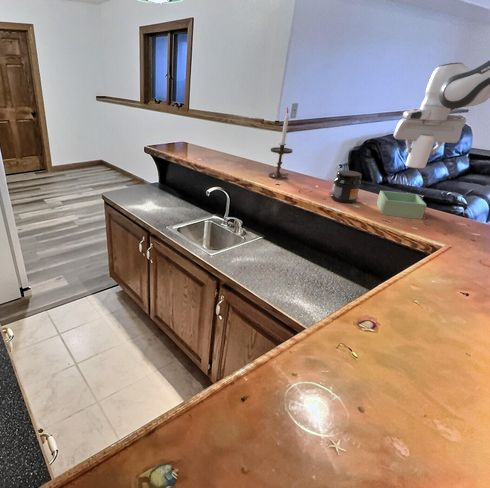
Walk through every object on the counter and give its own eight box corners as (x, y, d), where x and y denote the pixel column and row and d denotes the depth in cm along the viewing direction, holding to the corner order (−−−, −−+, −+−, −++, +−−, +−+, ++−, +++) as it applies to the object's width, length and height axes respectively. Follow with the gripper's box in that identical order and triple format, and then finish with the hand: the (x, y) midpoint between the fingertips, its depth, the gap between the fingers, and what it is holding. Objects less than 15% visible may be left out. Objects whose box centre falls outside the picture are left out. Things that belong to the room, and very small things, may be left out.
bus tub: (412, 207, 146) (417, 194, 144) (421, 219, 135) (426, 204, 132) (376, 203, 150) (380, 190, 148) (381, 214, 139) (386, 200, 136)
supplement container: (361, 201, 152) (368, 174, 147) (344, 205, 148) (351, 177, 143) (341, 194, 161) (347, 169, 155) (324, 197, 157) (330, 171, 151)
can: (408, 168, 131) (419, 135, 125) (402, 164, 136) (412, 132, 131) (427, 169, 129) (440, 136, 124) (420, 165, 135) (432, 133, 130)
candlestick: (263, 174, 191) (272, 106, 175) (280, 173, 193) (291, 105, 178) (273, 180, 181) (284, 108, 166) (291, 178, 184) (304, 107, 168)
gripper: (464, 114, 124) (449, 154, 130) (398, 111, 130) (387, 149, 136) (471, 116, 119) (455, 157, 125) (402, 113, 125) (391, 152, 131)
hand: (419, 153), depth 130 cm, fingers closed on can, 6 cm apart
